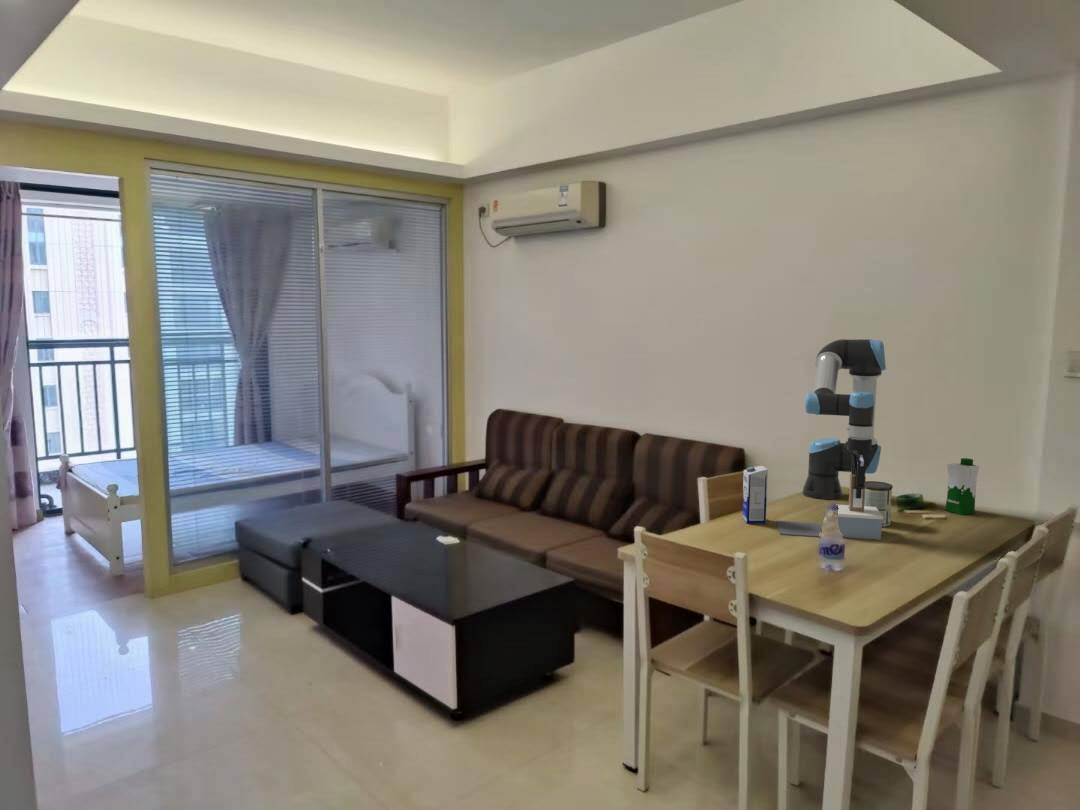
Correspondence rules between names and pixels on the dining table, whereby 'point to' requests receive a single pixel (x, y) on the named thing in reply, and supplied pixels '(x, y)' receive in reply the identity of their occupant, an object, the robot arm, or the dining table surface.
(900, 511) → the dining table surface
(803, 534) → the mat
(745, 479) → the milk carton
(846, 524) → the box
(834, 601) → the dining table surface
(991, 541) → the dining table surface
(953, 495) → the soya milk
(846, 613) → the dining table surface
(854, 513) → the lid
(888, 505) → the coffee can
